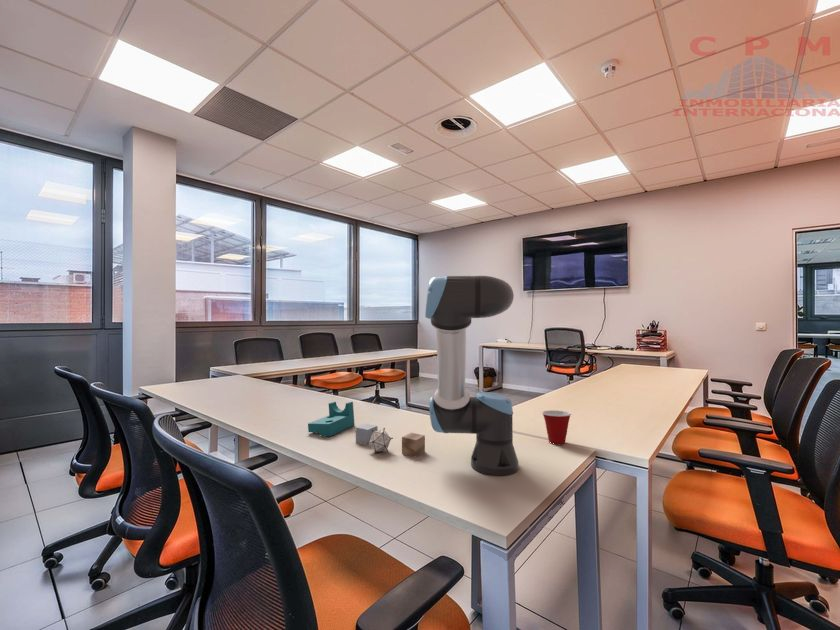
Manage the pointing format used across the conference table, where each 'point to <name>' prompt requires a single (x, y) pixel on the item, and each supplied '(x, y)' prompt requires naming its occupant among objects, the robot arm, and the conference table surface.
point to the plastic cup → (556, 425)
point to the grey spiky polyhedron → (379, 440)
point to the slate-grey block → (365, 433)
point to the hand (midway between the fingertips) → (453, 376)
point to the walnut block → (413, 444)
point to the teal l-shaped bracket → (333, 420)
